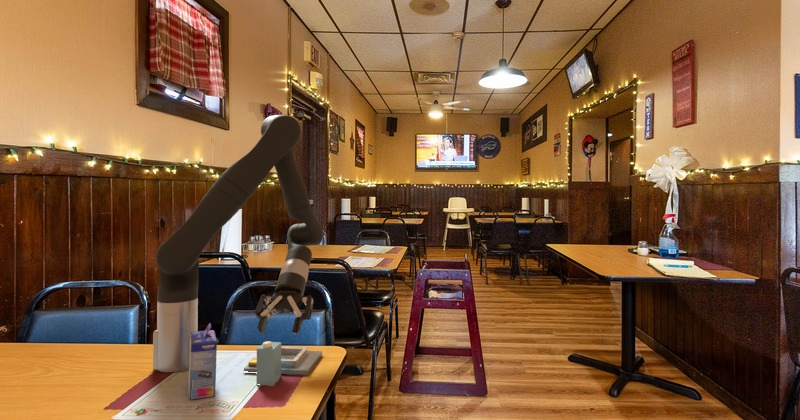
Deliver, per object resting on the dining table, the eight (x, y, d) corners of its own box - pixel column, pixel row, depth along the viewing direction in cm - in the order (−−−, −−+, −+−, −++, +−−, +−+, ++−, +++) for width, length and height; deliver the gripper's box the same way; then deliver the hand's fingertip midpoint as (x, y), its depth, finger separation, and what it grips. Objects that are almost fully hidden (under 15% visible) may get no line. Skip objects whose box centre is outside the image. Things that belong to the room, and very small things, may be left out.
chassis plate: (243, 373, 103) (243, 362, 103) (266, 353, 117) (266, 344, 117) (307, 375, 102) (307, 364, 102) (322, 355, 116) (322, 345, 116)
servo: (256, 385, 96) (256, 344, 96) (265, 376, 101) (265, 337, 101) (273, 386, 96) (273, 344, 96) (281, 377, 101) (281, 338, 101)
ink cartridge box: (217, 396, 90) (217, 329, 90) (188, 401, 88) (189, 333, 88) (214, 379, 99) (214, 319, 99) (188, 384, 96) (188, 321, 96)
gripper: (264, 270, 113) (245, 324, 101) (315, 271, 112) (302, 325, 101) (271, 286, 118) (254, 339, 107) (320, 287, 117) (308, 340, 106)
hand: (277, 332), depth 104 cm, fingers open, 8 cm apart
